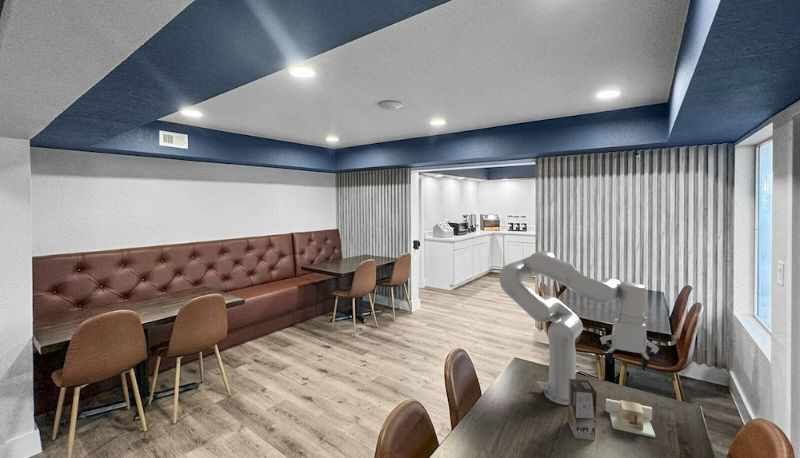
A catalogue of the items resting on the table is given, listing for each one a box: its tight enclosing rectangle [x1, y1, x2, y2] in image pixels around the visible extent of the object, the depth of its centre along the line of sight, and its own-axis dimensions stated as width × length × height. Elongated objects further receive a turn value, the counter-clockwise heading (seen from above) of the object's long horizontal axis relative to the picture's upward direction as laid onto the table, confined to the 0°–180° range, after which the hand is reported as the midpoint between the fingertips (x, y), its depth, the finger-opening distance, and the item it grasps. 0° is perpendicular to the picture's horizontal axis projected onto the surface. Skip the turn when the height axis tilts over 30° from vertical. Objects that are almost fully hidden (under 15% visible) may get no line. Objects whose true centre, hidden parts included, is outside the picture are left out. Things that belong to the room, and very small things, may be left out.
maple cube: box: [619, 399, 644, 430], centre depth 122 cm, size 6×6×6 cm
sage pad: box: [609, 412, 656, 438], centre depth 122 cm, size 12×9×1 cm
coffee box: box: [567, 378, 598, 441], centre depth 119 cm, size 9×6×16 cm
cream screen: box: [605, 398, 653, 422], centre depth 127 cm, size 14×1×4 cm, turn 66°
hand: (626, 365), depth 124 cm, fingers open, 9 cm apart
